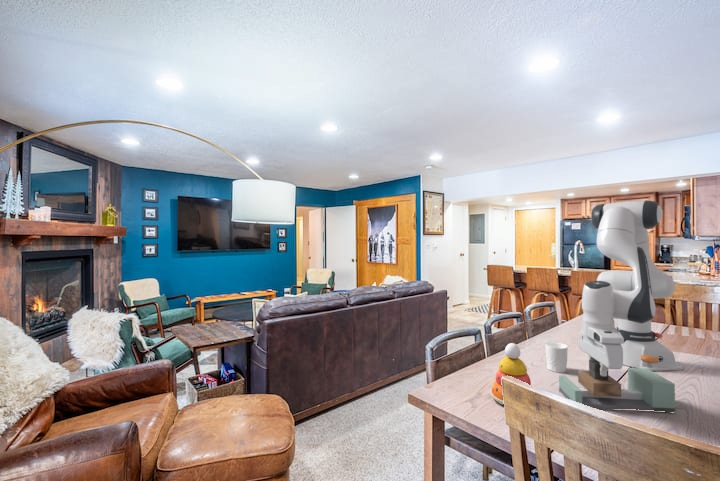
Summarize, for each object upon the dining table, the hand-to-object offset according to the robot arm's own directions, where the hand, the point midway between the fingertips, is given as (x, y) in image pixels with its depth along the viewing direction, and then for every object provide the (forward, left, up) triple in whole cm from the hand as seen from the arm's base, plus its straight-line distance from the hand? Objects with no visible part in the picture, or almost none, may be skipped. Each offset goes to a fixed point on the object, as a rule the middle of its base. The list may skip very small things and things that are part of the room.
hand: (598, 372), depth 111 cm
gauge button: (-15, 0, +2) cm, 15 cm away
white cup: (+3, -26, -10) cm, 28 cm away
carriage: (0, 0, -6) cm, 6 cm away
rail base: (-4, 0, -9) cm, 10 cm away
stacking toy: (+28, +3, -10) cm, 30 cm away
